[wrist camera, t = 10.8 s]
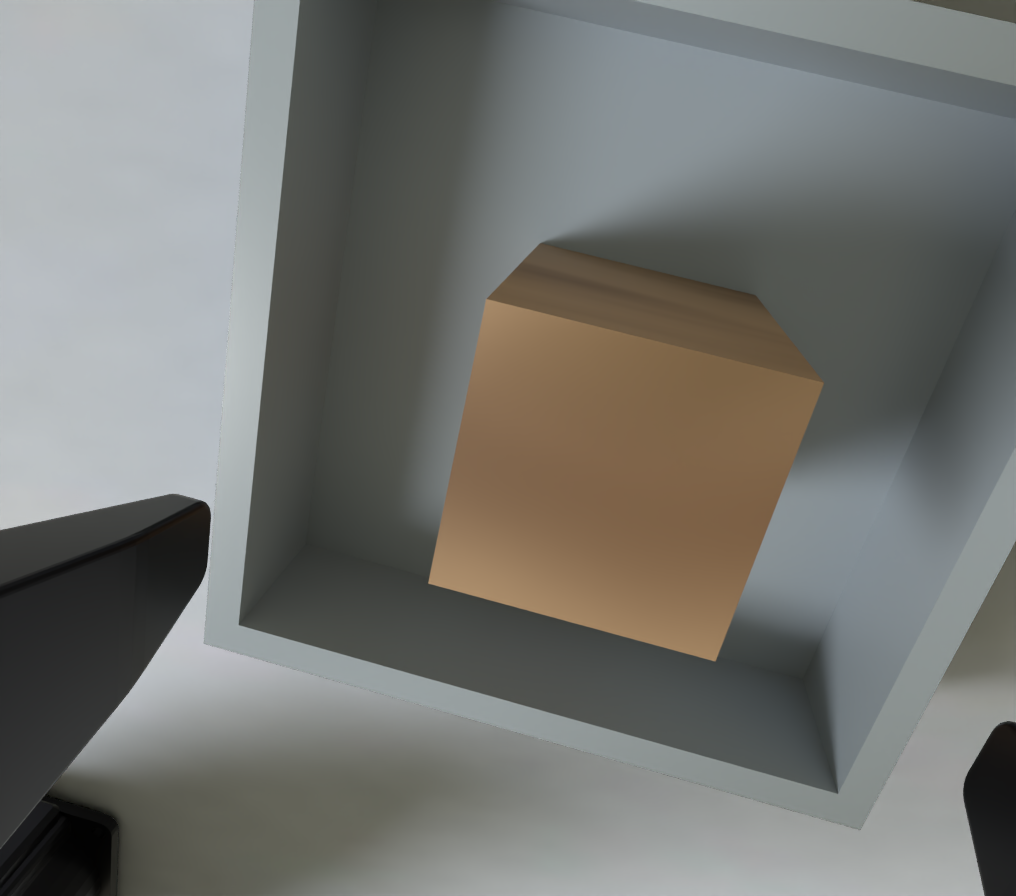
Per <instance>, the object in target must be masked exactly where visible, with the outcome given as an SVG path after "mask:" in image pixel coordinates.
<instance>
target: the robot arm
mask: <svg viewBox="0 0 1016 896" xmlns="http://www.w3.org/2000/svg"><path fill="white" fill-rule="evenodd" d="M210 522H211V512H210V508H209V506H208V505H207V503H206V502H204V501H201V500H197V499H194V498H190V497H186V496H183V495H179V494H169V495H164V496H159V497H154V498H150V499H145V500H140V501H136V502H131V503H126V504H121V505H117V506H112V507H107V508H103V509H98V510H93V511H89V512H84V513H79V514H74V515H70V516H65V517H60V518H56V519H51V520H46V521H41V522H37V523H32V524H27V525H23V526H18V527H13V528H8V529H4V530H0V896H117V864H118V831H119V828H118V824H117V822H116V821H115V819H113V818H112V817H111V816H109V815H107V814H104V813H100V812H97V811H94V810H91V809H87V808H84V807H81V806H77V805H74V804H71V803H67V802H64V801H61V800H57V799H54V798H51V797H47V796H44V795H45V794H46V793H47V792H48V791H49V789H50V788H51V787H52V786H53V785H54V783H55V782H56V781H57V780H58V778H59V777H60V776H61V775H62V774H63V772H64V771H65V770H66V769H67V768H68V766H69V765H70V764H71V763H72V761H73V760H74V759H75V758H76V757H77V755H78V754H79V753H80V752H81V751H82V749H83V748H84V747H85V746H86V744H87V743H88V742H89V741H90V740H91V738H92V737H93V736H94V735H95V734H96V732H97V731H98V730H99V729H100V727H101V726H102V725H103V724H104V723H105V721H106V720H107V719H108V718H109V717H110V715H111V714H112V713H113V712H114V710H115V709H116V708H117V707H118V706H119V704H120V703H121V702H122V700H123V699H124V698H125V697H126V695H127V694H128V693H129V692H130V690H131V689H132V688H133V686H134V685H135V683H136V682H137V680H138V679H139V677H140V676H141V675H142V673H143V672H144V670H145V669H146V667H147V666H148V664H149V662H150V661H151V659H152V658H153V656H154V655H155V653H156V652H157V650H158V649H159V647H160V646H161V644H162V643H163V641H164V639H165V638H166V636H167V635H168V633H169V632H170V630H171V629H172V627H173V626H174V624H175V623H176V621H177V620H178V618H179V616H180V615H181V613H182V612H183V610H184V609H185V607H186V606H187V604H188V603H189V601H190V600H191V598H192V597H193V595H194V593H195V592H196V590H197V589H198V587H199V586H200V584H201V582H202V580H203V578H204V575H205V572H206V568H207V561H208V548H209V535H210ZM963 796H964V803H965V808H966V812H967V817H968V821H969V826H970V831H971V835H972V840H973V844H974V849H975V853H976V858H977V863H978V867H979V872H980V876H981V881H982V886H983V890H984V895H985V896H1016V722H1011V721H1007V722H1003V723H1000V724H999V725H997V726H996V727H995V728H994V730H993V731H992V733H991V734H990V736H989V738H988V739H987V741H986V743H985V745H984V746H983V748H982V750H981V751H980V753H979V755H978V756H977V758H976V760H975V762H974V763H973V765H972V767H971V768H970V770H969V772H968V774H967V776H966V779H965V782H964V788H963Z"/></svg>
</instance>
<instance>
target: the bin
mask: <svg viewBox="0 0 1016 896" xmlns="http://www.w3.org/2000/svg"><path fill="white" fill-rule="evenodd" d="M540 243H542V244H546V245H551V246H555V247H559V248H563V249H567V250H571V251H575V252H579V253H584V254H588V255H592V256H596V257H600V258H604V259H608V260H612V261H617V262H621V263H625V264H629V265H633V266H637V267H641V268H645V269H650V270H654V271H658V272H662V273H666V274H670V275H674V276H678V277H683V278H687V279H691V280H695V281H699V282H703V283H707V284H711V285H716V286H720V287H724V288H728V289H732V290H736V291H740V292H745V293H749V294H753V295H756V296H757V298H758V299H759V300H760V301H761V303H762V304H763V305H764V307H765V308H766V309H767V310H768V312H769V313H770V314H771V315H772V317H773V318H774V319H775V321H776V322H777V323H778V324H779V326H780V327H781V328H782V329H783V331H784V332H785V333H786V335H787V336H788V337H789V338H790V340H791V341H792V342H793V344H794V345H795V346H796V347H797V349H798V350H799V351H800V352H801V354H802V355H803V356H804V358H805V359H806V360H807V361H808V363H809V364H810V365H811V367H812V368H813V369H814V370H815V372H816V373H817V374H818V375H819V377H820V378H821V379H822V381H823V382H824V385H823V387H822V390H821V392H820V395H819V397H818V400H817V403H816V405H815V408H814V410H813V413H812V415H811V418H810V420H809V423H808V426H807V428H806V431H805V433H804V436H803V438H802V441H801V444H800V446H799V449H798V451H797V454H796V456H795V459H794V461H793V464H792V467H791V469H790V472H789V474H788V477H787V479H786V482H785V485H784V487H783V490H782V492H781V495H780V497H779V500H778V502H777V505H776V508H775V510H774V513H773V515H772V518H771V520H770V523H769V526H768V528H767V531H766V533H765V536H764V538H763V541H762V543H761V546H760V549H759V551H758V554H757V556H756V559H755V561H754V564H753V567H752V569H751V572H750V574H749V577H748V579H747V582H746V584H745V587H744V590H743V592H742V595H741V597H740V600H739V602H738V605H737V608H736V610H735V613H734V615H733V618H732V620H731V623H730V625H729V628H728V631H727V633H726V636H725V638H724V641H723V643H722V646H721V649H720V651H719V654H718V656H717V659H716V661H712V660H708V659H704V658H701V657H697V656H693V655H690V654H686V653H682V652H679V651H675V650H671V649H668V648H664V647H660V646H657V645H653V644H649V643H645V642H642V641H638V640H634V639H631V638H627V637H623V636H620V635H616V634H612V633H609V632H605V631H601V630H598V629H594V628H590V627H587V626H583V625H579V624H576V623H572V622H568V621H565V620H561V619H557V618H554V617H550V616H546V615H542V614H539V613H535V612H531V611H528V610H524V609H520V608H517V607H513V606H509V605H506V604H502V603H498V602H495V601H491V600H487V599H484V598H480V597H476V596H473V595H469V594H465V593H462V592H458V591H454V590H451V589H447V588H443V587H439V586H436V585H432V584H428V582H429V577H430V572H431V567H432V562H433V557H434V552H435V547H436V542H437V538H438V533H439V528H440V523H441V518H442V513H443V508H444V503H445V498H446V493H447V489H448V484H449V479H450V474H451V469H452V464H453V459H454V454H455V449H456V444H457V440H458V435H459V430H460V425H461V420H462V415H463V410H464V405H465V400H466V395H467V391H468V386H469V381H470V376H471V371H472V366H473V361H474V356H475V351H476V347H477V342H478V337H479V332H480V327H481V322H482V317H483V312H484V307H485V302H486V299H487V298H488V297H489V296H490V295H491V294H492V292H493V291H494V290H495V289H496V288H497V287H498V286H499V285H500V284H501V283H502V282H503V281H504V280H505V279H506V278H507V277H508V276H509V275H510V274H511V273H512V272H513V271H514V270H515V269H516V268H517V267H518V265H519V264H520V263H521V262H522V261H523V260H524V259H525V258H526V257H527V256H528V255H529V254H530V253H531V252H532V251H533V250H534V249H535V248H536V247H537V246H538V245H539V244H540ZM1015 542H1016V23H1012V22H1007V21H1002V20H998V19H993V18H989V17H984V16H980V15H975V14H971V13H966V12H961V11H957V10H952V9H948V8H943V7H939V6H934V5H930V4H925V3H920V2H916V1H911V0H254V9H253V21H252V34H251V47H250V60H249V72H248V85H247V98H246V111H245V123H244V136H243V149H242V162H241V174H240V187H239V200H238V213H237V225H236V238H235V251H234V264H233V276H232V289H231V302H230V315H229V327H228V340H227V353H226V366H225V378H224V391H223V404H222V417H221V429H220V442H219V455H218V468H217V480H216V493H215V506H214V519H213V531H212V544H211V557H210V570H209V582H208V595H207V608H206V621H205V633H204V644H207V645H210V646H214V647H217V648H221V649H224V650H228V651H231V652H235V653H238V654H242V655H245V656H249V657H252V658H256V659H259V660H263V661H266V662H270V663H274V664H277V665H281V666H284V667H288V668H291V669H295V670H298V671H302V672H305V673H309V674H312V675H316V676H319V677H323V678H326V679H330V680H333V681H337V682H340V683H344V684H347V685H351V686H355V687H358V688H362V689H365V690H369V691H372V692H376V693H379V694H383V695H386V696H390V697H393V698H397V699H400V700H404V701H407V702H411V703H414V704H418V705H421V706H425V707H428V708H432V709H435V710H439V711H443V712H446V713H450V714H453V715H457V716H460V717H464V718H467V719H471V720H474V721H478V722H481V723H485V724H488V725H492V726H495V727H499V728H502V729H506V730H509V731H513V732H516V733H520V734H524V735H527V736H531V737H534V738H538V739H541V740H545V741H548V742H552V743H555V744H559V745H562V746H566V747H569V748H573V749H576V750H580V751H583V752H587V753H590V754H594V755H597V756H601V757H605V758H608V759H612V760H615V761H619V762H622V763H626V764H629V765H633V766H636V767H640V768H643V769H647V770H650V771H654V772H657V773H661V774H664V775H668V776H671V777H675V778H678V779H682V780H686V781H689V782H693V783H696V784H700V785H703V786H707V787H710V788H714V789H717V790H721V791H724V792H728V793H731V794H735V795H738V796H742V797H745V798H749V799H752V800H756V801H759V802H763V803H767V804H770V805H774V806H777V807H781V808H784V809H788V810H791V811H795V812H798V813H802V814H805V815H809V816H812V817H816V818H819V819H823V820H826V821H830V822H833V823H837V824H840V825H844V826H847V827H851V828H855V829H858V830H861V828H862V826H863V824H864V822H865V820H866V818H867V817H868V815H869V813H870V811H871V809H872V807H873V805H874V804H875V802H876V800H877V798H878V796H879V794H880V792H881V791H882V789H883V787H884V785H885V783H886V781H887V779H888V778H889V776H890V774H891V772H892V770H893V768H894V766H895V765H896V763H897V761H898V759H899V757H900V755H901V753H902V752H903V750H904V748H905V746H906V744H907V742H908V740H909V739H910V737H911V735H912V733H913V731H914V729H915V727H916V726H917V724H918V722H919V720H920V718H921V716H922V714H923V713H924V711H925V709H926V707H927V705H928V703H929V701H930V700H931V698H932V696H933V694H934V692H935V690H936V688H937V687H938V685H939V683H940V681H941V679H942V677H943V675H944V674H945V672H946V670H947V668H948V666H949V664H950V662H951V661H952V659H953V657H954V655H955V653H956V651H957V649H958V648H959V646H960V644H961V642H962V640H963V638H964V636H965V635H966V633H967V631H968V629H969V627H970V625H971V623H972V622H973V620H974V618H975V616H976V614H977V612H978V610H979V609H980V607H981V605H982V603H983V601H984V599H985V597H986V596H987V594H988V592H989V590H990V588H991V586H992V584H993V583H994V581H995V579H996V577H997V575H998V573H999V571H1000V570H1001V568H1002V566H1003V564H1004V562H1005V560H1006V558H1007V557H1008V555H1009V553H1010V551H1011V549H1012V547H1013V545H1014V544H1015Z"/></svg>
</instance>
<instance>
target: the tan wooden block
mask: <svg viewBox="0 0 1016 896" xmlns="http://www.w3.org/2000/svg"><path fill="white" fill-rule="evenodd" d="M823 385H824V382H823V381H822V379H821V378H820V377H819V375H818V374H817V373H816V372H815V370H814V369H813V368H812V367H811V365H810V364H809V363H808V361H807V360H806V359H805V358H804V356H803V355H802V354H801V352H800V351H799V350H798V349H797V347H796V346H795V345H794V344H793V342H792V341H791V340H790V338H789V337H788V336H787V335H786V333H785V332H784V331H783V329H782V328H781V327H780V326H779V324H778V323H777V322H776V321H775V319H774V318H773V317H772V315H771V314H770V313H769V312H768V310H767V309H766V308H765V307H764V305H763V304H762V303H761V301H760V300H759V299H758V298H757V296H756V295H753V294H749V293H745V292H740V291H736V290H732V289H728V288H724V287H720V286H716V285H711V284H707V283H703V282H699V281H695V280H691V279H687V278H683V277H678V276H674V275H670V274H666V273H662V272H658V271H654V270H650V269H645V268H641V267H637V266H633V265H629V264H625V263H621V262H617V261H612V260H608V259H604V258H600V257H596V256H592V255H588V254H584V253H579V252H575V251H571V250H567V249H563V248H559V247H555V246H551V245H546V244H542V243H540V244H539V245H538V246H537V247H536V248H535V249H534V250H533V251H532V252H531V253H530V254H529V255H528V256H527V257H526V258H525V259H524V260H523V261H522V262H521V263H520V264H519V265H518V267H517V268H516V269H515V270H514V271H513V272H512V273H511V274H510V275H509V276H508V277H507V278H506V279H505V280H504V281H503V282H502V283H501V284H500V285H499V286H498V287H497V288H496V289H495V290H494V291H493V292H492V294H491V295H490V296H489V297H488V298H487V299H486V302H485V307H484V312H483V317H482V322H481V327H480V332H479V337H478V342H477V347H476V351H475V356H474V361H473V366H472V371H471V376H470V381H469V386H468V391H467V395H466V400H465V405H464V410H463V415H462V420H461V425H460V430H459V435H458V440H457V444H456V449H455V454H454V459H453V464H452V469H451V474H450V479H449V484H448V489H447V493H446V498H445V503H444V508H443V513H442V518H441V523H440V528H439V533H438V538H437V542H436V547H435V552H434V557H433V562H432V567H431V572H430V577H429V582H428V584H432V585H436V586H439V587H443V588H447V589H451V590H454V591H458V592H462V593H465V594H469V595H473V596H476V597H480V598H484V599H487V600H491V601H495V602H498V603H502V604H506V605H509V606H513V607H517V608H520V609H524V610H528V611H531V612H535V613H539V614H542V615H546V616H550V617H554V618H557V619H561V620H565V621H568V622H572V623H576V624H579V625H583V626H587V627H590V628H594V629H598V630H601V631H605V632H609V633H612V634H616V635H620V636H623V637H627V638H631V639H634V640H638V641H642V642H645V643H649V644H653V645H657V646H660V647H664V648H668V649H671V650H675V651H679V652H682V653H686V654H690V655H693V656H697V657H701V658H704V659H708V660H712V661H716V659H717V656H718V654H719V651H720V649H721V646H722V643H723V641H724V638H725V636H726V633H727V631H728V628H729V625H730V623H731V620H732V618H733V615H734V613H735V610H736V608H737V605H738V602H739V600H740V597H741V595H742V592H743V590H744V587H745V584H746V582H747V579H748V577H749V574H750V572H751V569H752V567H753V564H754V561H755V559H756V556H757V554H758V551H759V549H760V546H761V543H762V541H763V538H764V536H765V533H766V531H767V528H768V526H769V523H770V520H771V518H772V515H773V513H774V510H775V508H776V505H777V502H778V500H779V497H780V495H781V492H782V490H783V487H784V485H785V482H786V479H787V477H788V474H789V472H790V469H791V467H792V464H793V461H794V459H795V456H796V454H797V451H798V449H799V446H800V444H801V441H802V438H803V436H804V433H805V431H806V428H807V426H808V423H809V420H810V418H811V415H812V413H813V410H814V408H815V405H816V403H817V400H818V397H819V395H820V392H821V390H822V387H823Z"/></svg>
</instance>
